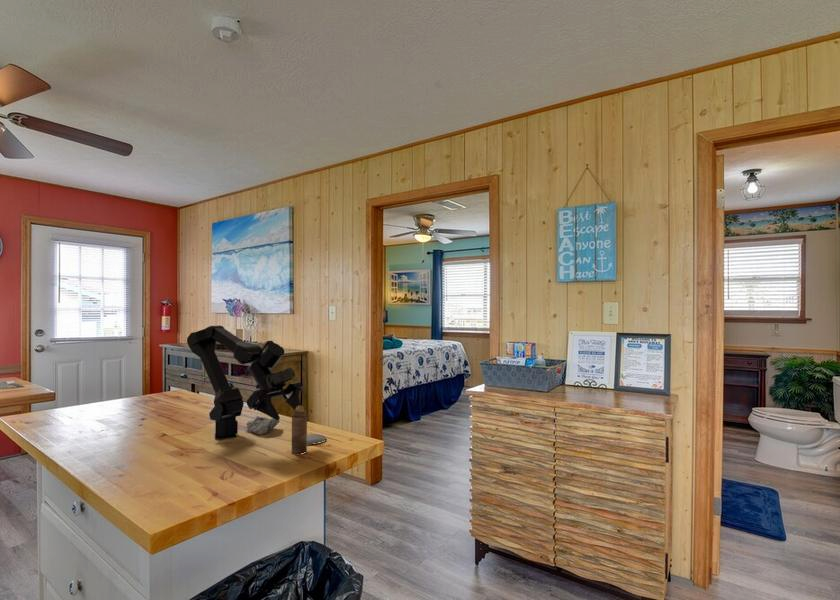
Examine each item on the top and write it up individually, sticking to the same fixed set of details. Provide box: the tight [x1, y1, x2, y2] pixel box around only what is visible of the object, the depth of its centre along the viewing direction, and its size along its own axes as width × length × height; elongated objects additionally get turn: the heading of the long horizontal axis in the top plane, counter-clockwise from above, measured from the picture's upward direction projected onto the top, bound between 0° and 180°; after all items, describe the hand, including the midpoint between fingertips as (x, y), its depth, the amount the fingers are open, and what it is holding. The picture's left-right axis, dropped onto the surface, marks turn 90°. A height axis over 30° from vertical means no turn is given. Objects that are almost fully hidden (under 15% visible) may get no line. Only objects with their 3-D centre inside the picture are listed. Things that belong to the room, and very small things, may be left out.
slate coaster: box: [307, 433, 327, 444], centre depth 146 cm, size 10×10×1 cm
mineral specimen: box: [246, 415, 281, 435], centre depth 157 cm, size 6×11×12 cm
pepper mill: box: [291, 404, 308, 455], centre depth 134 cm, size 4×4×14 cm
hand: (290, 416), depth 136 cm, fingers open, 9 cm apart
